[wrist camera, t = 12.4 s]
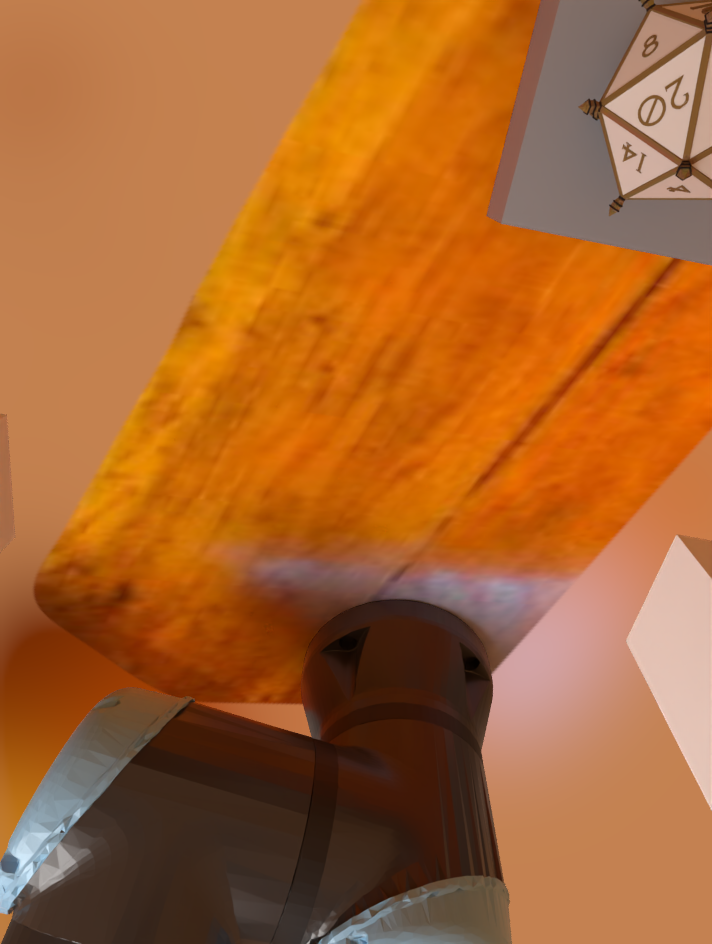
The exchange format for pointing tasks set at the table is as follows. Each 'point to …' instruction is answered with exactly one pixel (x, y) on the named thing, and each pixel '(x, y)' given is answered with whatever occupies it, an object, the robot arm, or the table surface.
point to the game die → (661, 107)
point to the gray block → (583, 141)
